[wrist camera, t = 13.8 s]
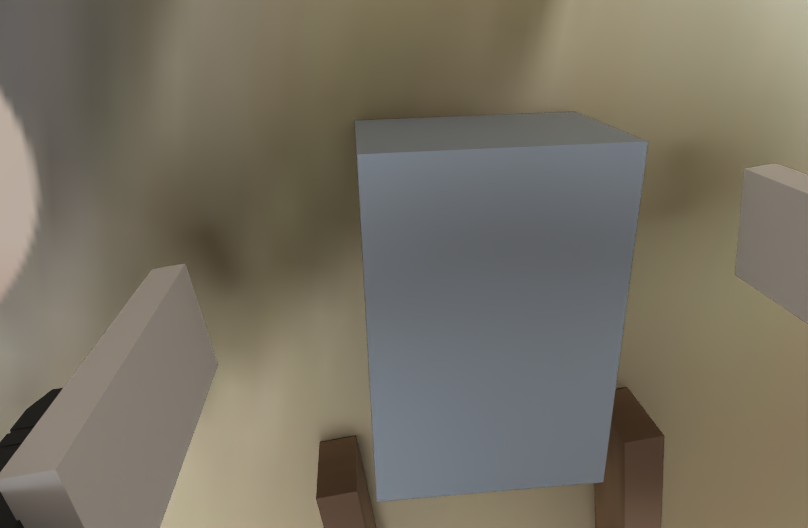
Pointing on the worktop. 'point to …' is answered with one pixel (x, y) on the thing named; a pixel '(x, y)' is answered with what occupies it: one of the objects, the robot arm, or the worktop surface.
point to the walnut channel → (614, 497)
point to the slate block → (494, 296)
